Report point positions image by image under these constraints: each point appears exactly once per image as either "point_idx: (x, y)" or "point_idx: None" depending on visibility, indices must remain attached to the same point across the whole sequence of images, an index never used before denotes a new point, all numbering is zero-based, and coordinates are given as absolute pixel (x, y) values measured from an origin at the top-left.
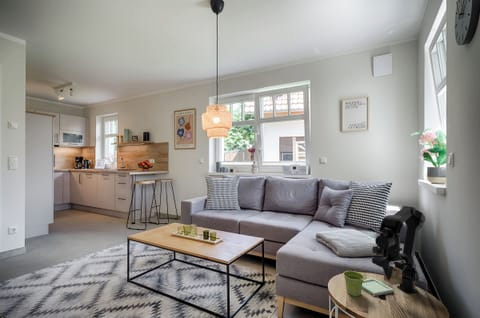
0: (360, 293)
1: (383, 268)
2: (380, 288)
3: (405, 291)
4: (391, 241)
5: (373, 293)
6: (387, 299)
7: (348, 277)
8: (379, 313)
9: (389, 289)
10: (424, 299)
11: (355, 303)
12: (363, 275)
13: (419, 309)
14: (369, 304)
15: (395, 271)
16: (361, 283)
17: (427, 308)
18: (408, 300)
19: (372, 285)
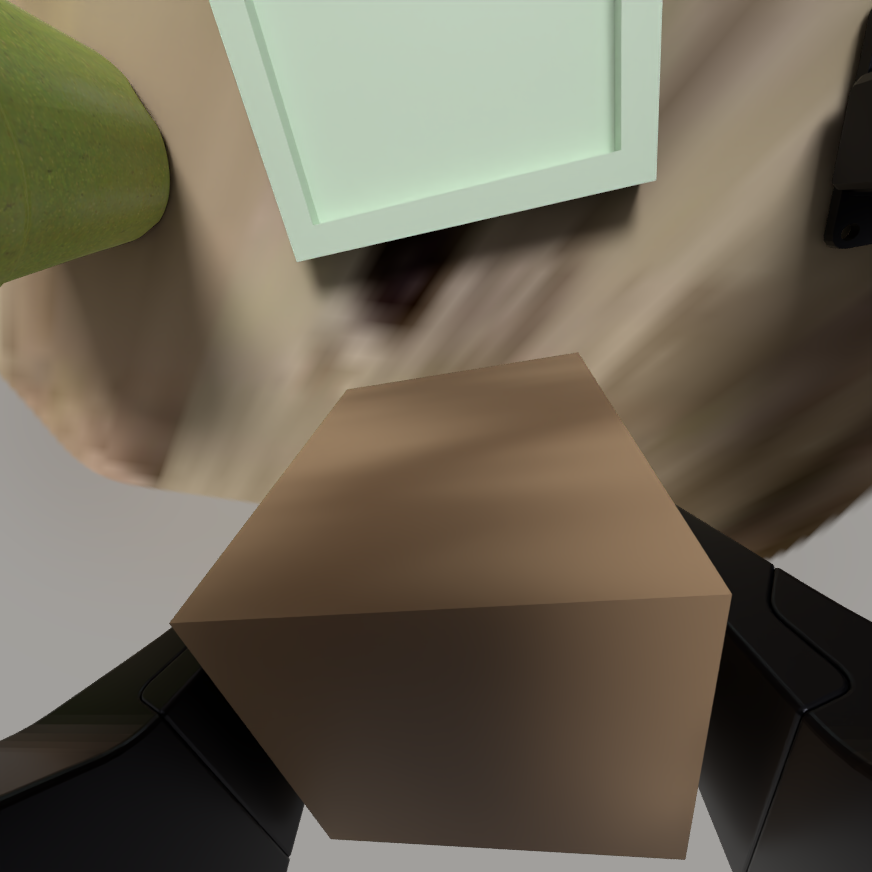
0: (139, 232)
1: (102, 709)
2: (499, 82)
3: (834, 196)
4: None
5: (298, 255)
6: (431, 336)
7: None
8: (242, 501)
9: (586, 181)
10: (861, 386)
11: (85, 362)
12: None
13: None
14: (208, 392)
15: (411, 823)
16: (15, 273)
17: (690, 509)
18: (648, 381)
19: None
